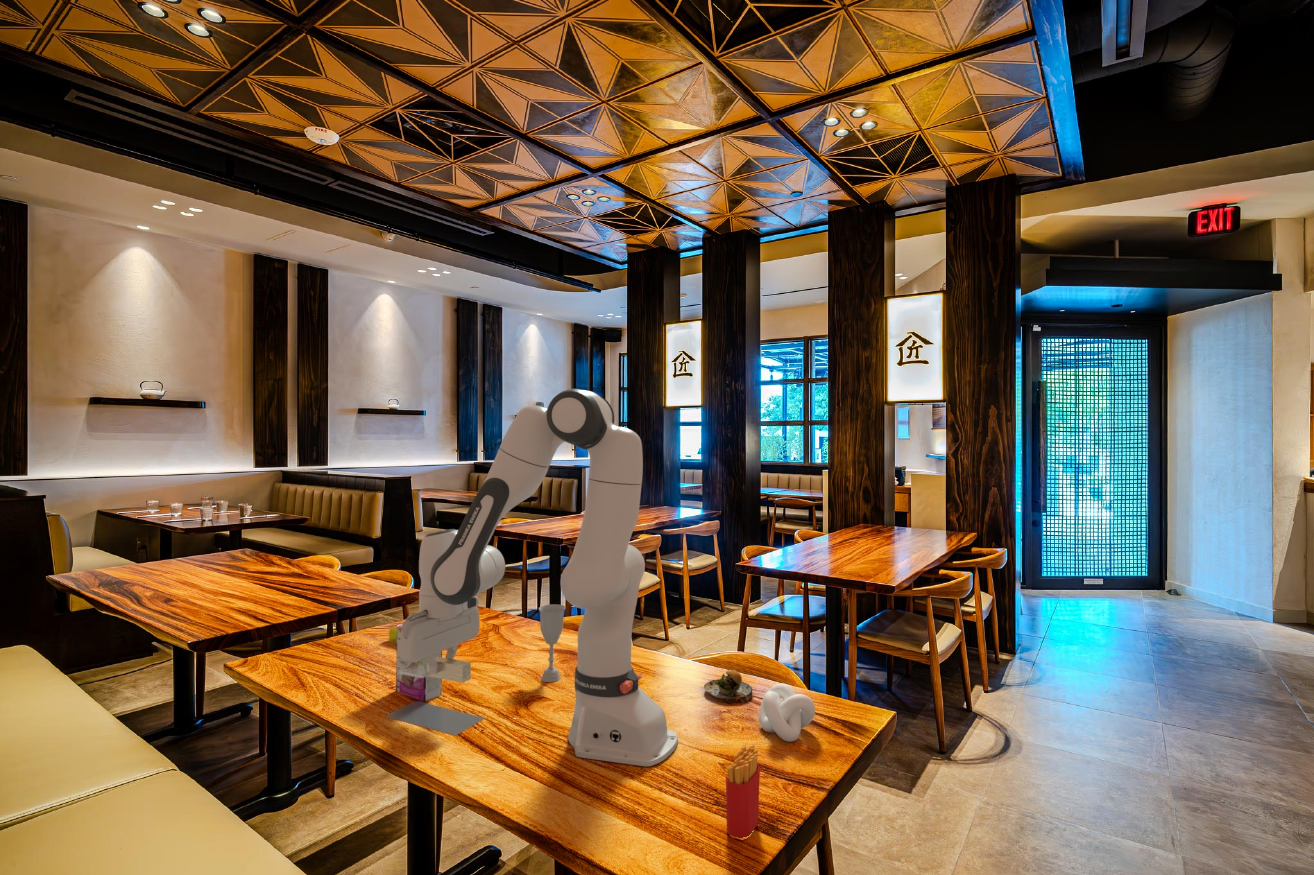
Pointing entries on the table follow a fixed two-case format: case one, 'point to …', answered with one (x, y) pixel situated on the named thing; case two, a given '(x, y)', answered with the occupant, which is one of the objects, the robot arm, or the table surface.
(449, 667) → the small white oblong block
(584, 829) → the table surface
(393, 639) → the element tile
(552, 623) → the chalice
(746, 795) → the french fries
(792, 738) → the white knot sculpture
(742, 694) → the burger
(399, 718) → the plate
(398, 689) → the candy bar box
